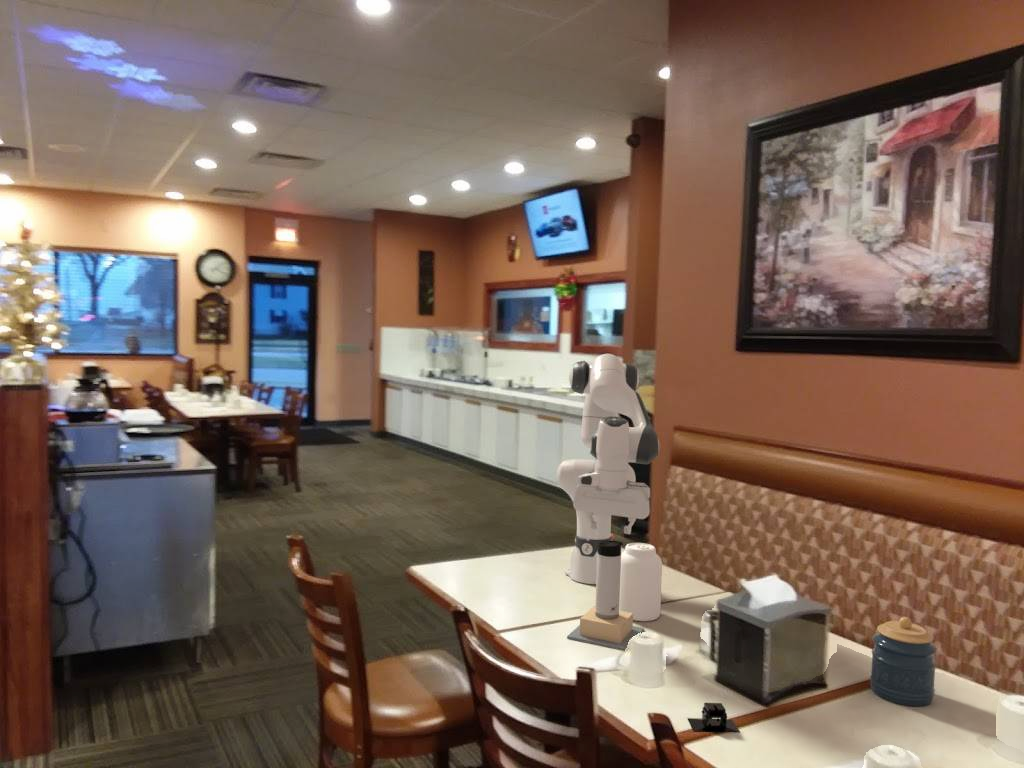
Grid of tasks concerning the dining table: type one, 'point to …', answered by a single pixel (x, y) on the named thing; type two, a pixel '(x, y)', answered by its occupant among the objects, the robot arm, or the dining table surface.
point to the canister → (903, 663)
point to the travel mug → (608, 579)
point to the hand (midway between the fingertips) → (610, 531)
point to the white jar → (640, 582)
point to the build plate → (713, 720)
